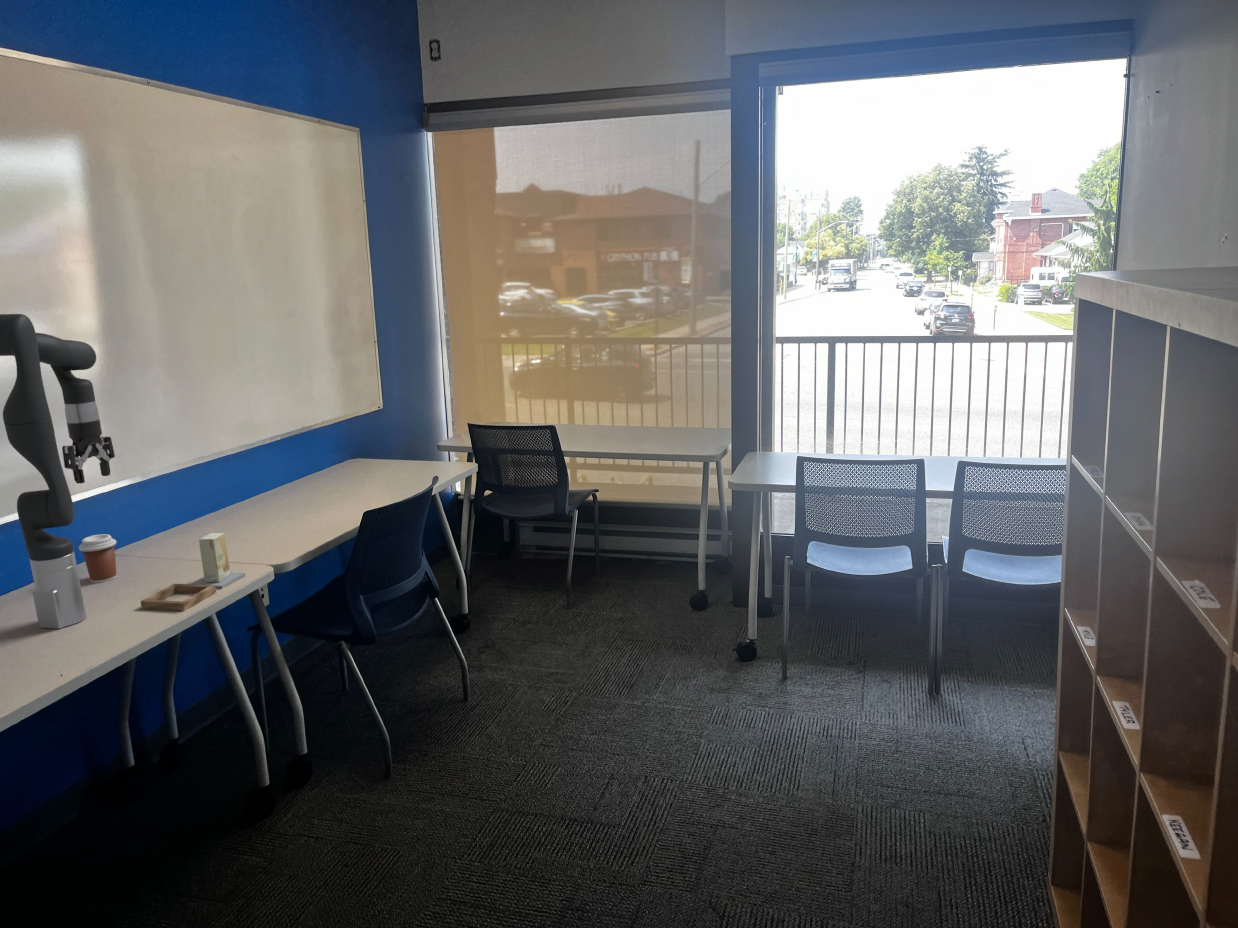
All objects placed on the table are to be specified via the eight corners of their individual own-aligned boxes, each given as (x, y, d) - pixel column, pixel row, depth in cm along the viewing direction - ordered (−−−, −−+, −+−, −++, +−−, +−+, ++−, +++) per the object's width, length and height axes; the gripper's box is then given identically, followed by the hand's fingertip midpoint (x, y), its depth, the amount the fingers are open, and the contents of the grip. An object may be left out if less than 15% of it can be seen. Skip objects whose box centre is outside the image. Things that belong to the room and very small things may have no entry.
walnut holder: (184, 610, 222) (183, 603, 221) (141, 608, 224) (140, 601, 224) (216, 592, 233) (215, 585, 233) (175, 590, 236) (174, 583, 236)
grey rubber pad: (222, 588, 236) (221, 585, 236) (189, 587, 238) (189, 584, 238) (245, 575, 246) (244, 572, 246) (213, 574, 248) (213, 571, 248)
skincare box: (219, 582, 239) (213, 539, 236) (204, 582, 239) (197, 539, 236) (231, 574, 245) (225, 532, 242) (216, 574, 245) (210, 532, 242)
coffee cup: (85, 577, 250) (78, 536, 247) (122, 570, 254) (115, 530, 251) (84, 586, 242) (76, 545, 239) (122, 580, 246) (114, 539, 243)
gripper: (72, 424, 225) (83, 486, 228) (115, 414, 238) (125, 473, 242) (48, 424, 227) (59, 485, 230) (92, 415, 240) (102, 473, 244)
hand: (93, 479), depth 236 cm, fingers open, 8 cm apart
